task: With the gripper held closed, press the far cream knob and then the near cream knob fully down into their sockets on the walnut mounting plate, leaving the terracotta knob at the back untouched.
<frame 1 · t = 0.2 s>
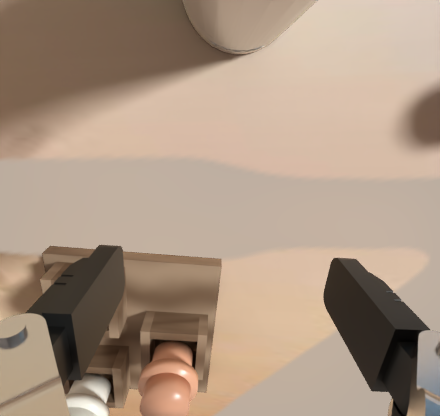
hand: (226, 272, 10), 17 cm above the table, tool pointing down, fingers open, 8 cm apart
middle knob: (169, 379, 28), point 7 cm above the table, slide at 0.0 cm
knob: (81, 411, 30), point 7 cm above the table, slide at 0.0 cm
mount block: (138, 323, 34), on the table
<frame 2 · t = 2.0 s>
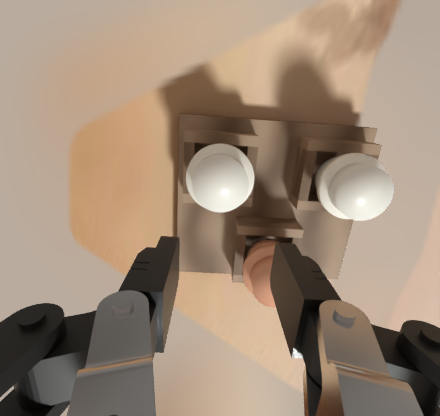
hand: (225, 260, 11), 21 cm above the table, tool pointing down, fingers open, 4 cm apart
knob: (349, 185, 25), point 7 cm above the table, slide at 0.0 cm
middle knob: (271, 269, 28), point 7 cm above the table, slide at 0.0 cm
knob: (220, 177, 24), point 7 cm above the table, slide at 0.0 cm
mount block: (265, 202, 33), on the table
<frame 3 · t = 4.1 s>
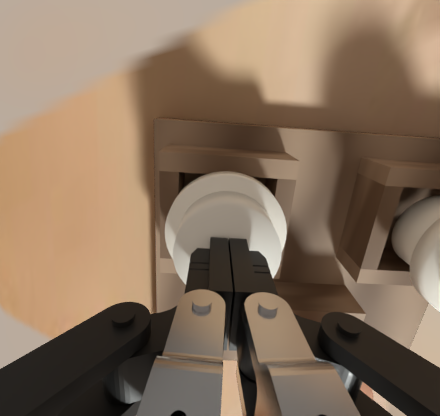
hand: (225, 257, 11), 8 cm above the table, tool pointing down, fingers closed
middle knob: (314, 390, 16), point 7 cm above the table, slide at 0.0 cm
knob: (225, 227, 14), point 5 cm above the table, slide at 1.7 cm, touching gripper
mount block: (295, 255, 21), on the table
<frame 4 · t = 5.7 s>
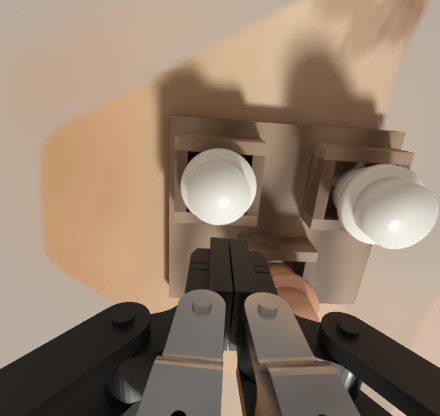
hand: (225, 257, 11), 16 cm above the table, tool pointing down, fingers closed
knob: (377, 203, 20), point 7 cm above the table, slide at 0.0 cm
middle knob: (280, 302, 23), point 7 cm above the table, slide at 0.0 cm
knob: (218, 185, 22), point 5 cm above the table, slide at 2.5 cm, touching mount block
mount block: (271, 217, 28), on the table
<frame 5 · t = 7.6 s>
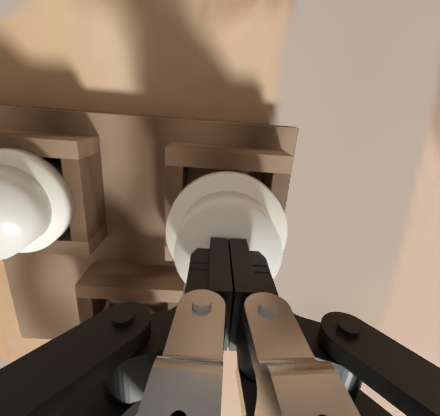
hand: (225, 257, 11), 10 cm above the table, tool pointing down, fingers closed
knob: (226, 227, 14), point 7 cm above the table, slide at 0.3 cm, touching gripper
middle knob: (119, 361, 17), point 7 cm above the table, slide at 0.0 cm
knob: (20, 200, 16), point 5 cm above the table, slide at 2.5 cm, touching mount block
mount block: (145, 239, 22), on the table
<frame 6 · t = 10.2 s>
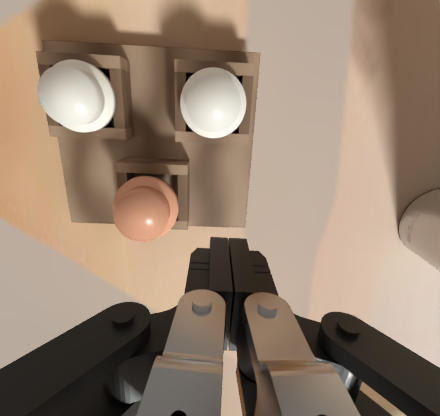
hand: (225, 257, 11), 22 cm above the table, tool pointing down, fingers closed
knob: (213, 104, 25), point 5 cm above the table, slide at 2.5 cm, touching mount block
candle: (352, 364, 44), on the table
middle knob: (147, 206, 26), point 7 cm above the table, slide at 0.0 cm
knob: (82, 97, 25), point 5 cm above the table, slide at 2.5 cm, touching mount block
mount block: (159, 144, 31), on the table
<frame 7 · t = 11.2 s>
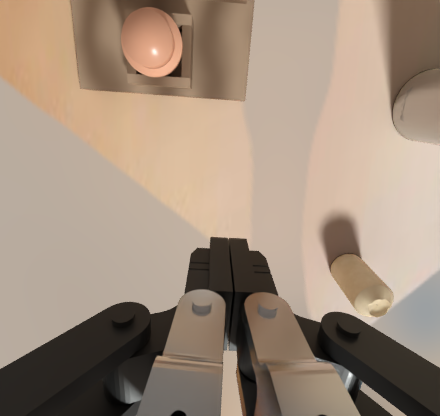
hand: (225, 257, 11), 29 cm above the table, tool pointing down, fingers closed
candle: (345, 266, 46), on the table
middle knob: (153, 45, 28), point 7 cm above the table, slide at 0.0 cm
mount block: (165, 10, 32), on the table
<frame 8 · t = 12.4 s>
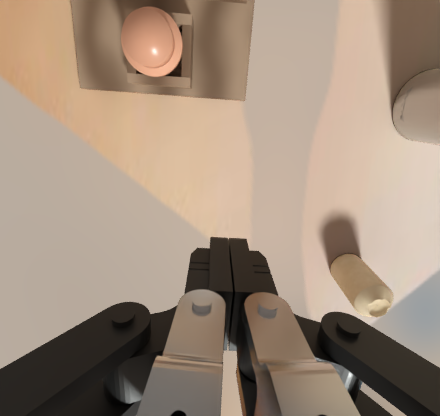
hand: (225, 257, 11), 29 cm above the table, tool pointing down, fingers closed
candle: (345, 266, 46), on the table
middle knob: (153, 44, 28), point 7 cm above the table, slide at 0.0 cm
mount block: (165, 10, 32), on the table
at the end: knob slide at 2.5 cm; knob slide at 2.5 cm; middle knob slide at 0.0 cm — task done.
